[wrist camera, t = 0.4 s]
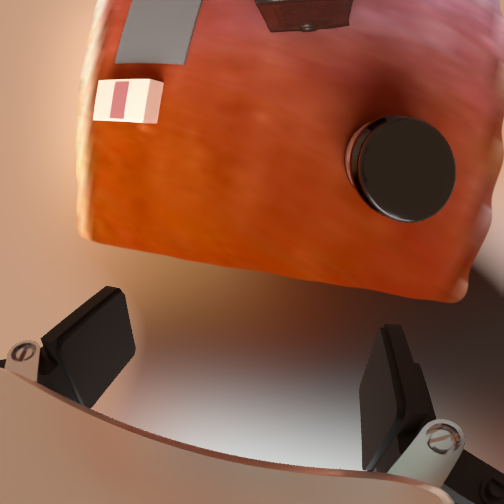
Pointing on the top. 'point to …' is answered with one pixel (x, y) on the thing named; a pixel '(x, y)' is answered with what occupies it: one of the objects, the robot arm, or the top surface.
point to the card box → (128, 100)
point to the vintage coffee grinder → (304, 14)
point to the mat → (158, 31)
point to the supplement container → (401, 167)
